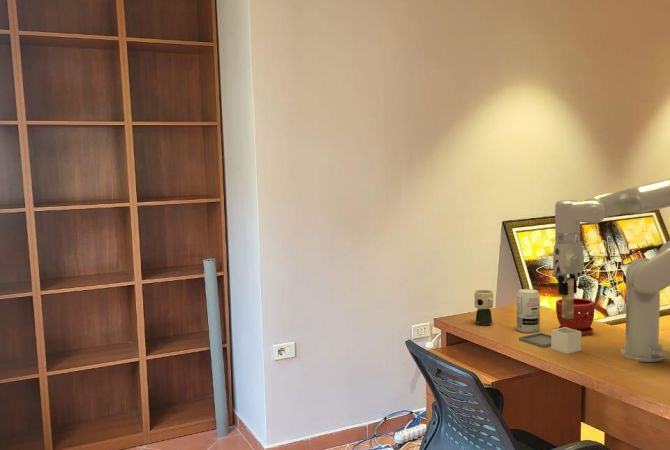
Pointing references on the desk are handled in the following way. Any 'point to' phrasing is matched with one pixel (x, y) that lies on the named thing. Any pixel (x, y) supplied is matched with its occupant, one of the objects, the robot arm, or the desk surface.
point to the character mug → (483, 306)
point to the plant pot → (578, 316)
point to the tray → (537, 339)
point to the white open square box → (566, 340)
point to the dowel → (568, 301)
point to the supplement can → (528, 311)
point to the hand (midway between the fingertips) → (567, 293)
